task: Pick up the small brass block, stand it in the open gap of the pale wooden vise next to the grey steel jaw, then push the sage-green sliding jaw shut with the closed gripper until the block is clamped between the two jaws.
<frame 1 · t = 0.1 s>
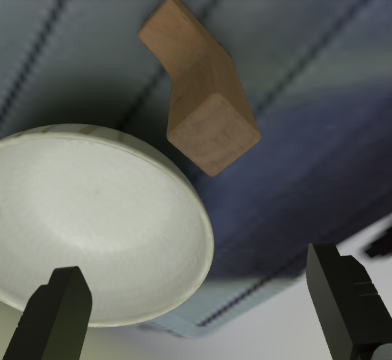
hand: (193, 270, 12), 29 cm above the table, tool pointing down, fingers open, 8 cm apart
wooden block: (188, 42, 36), on the table
decorative bowl: (106, 182, 46), on the table
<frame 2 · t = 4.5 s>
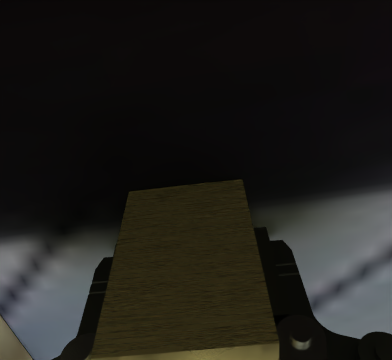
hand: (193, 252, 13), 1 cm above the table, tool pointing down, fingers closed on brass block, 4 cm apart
brass block: (193, 236, 14), on the table, touching gripper
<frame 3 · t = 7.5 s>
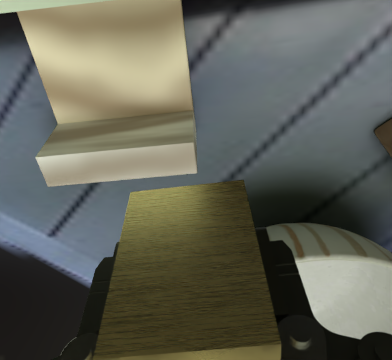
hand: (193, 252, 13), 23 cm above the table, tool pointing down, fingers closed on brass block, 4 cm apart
vise: (103, 11, 29), on the table
decorative bowl: (281, 255, 47), on the table
brass block: (195, 237, 14), point 22 cm above the table, touching gripper
when the fingers open (3 cm above the table, at t = 11.0 s): brass block stays where it is, resting on vise.
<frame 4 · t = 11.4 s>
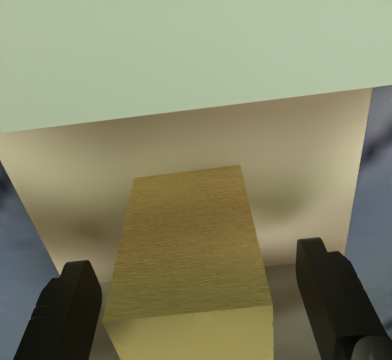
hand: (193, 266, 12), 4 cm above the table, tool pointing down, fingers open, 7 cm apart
vise: (171, 70, 12), on the table
brass block: (195, 221, 14), point 1 cm above the table, touching vise
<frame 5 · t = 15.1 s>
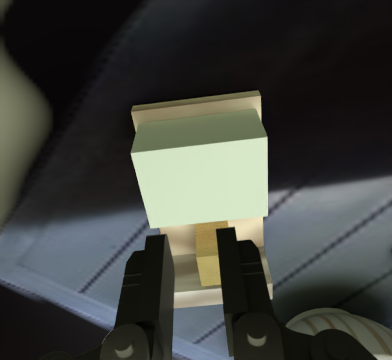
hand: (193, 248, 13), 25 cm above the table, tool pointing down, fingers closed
vise: (207, 191, 43), on the table
decorative bowl: (318, 327, 60), on the table
brass block: (213, 234, 45), point 1 cm above the table, touching vise
sliding jaw: (202, 169, 36), point 5 cm above the table, slide at 0.0 cm
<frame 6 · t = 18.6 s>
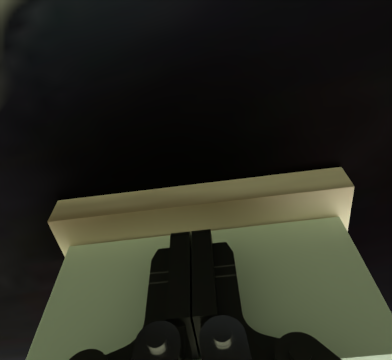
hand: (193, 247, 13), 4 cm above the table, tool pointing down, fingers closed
vise: (220, 333, 23), on the table
sliding jaw: (215, 352, 16), point 5 cm above the table, slide at 0.2 cm, touching gripper
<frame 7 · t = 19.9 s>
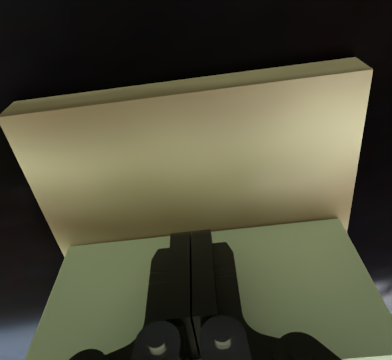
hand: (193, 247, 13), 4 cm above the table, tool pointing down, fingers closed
vise: (211, 285, 20), on the table
sliding jaw: (214, 353, 16), point 5 cm above the table, slide at 5.1 cm, touching brass block, gripper
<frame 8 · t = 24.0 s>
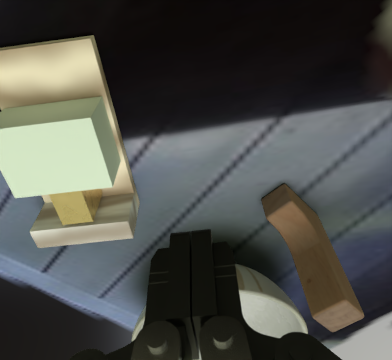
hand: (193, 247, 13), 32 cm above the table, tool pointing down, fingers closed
wooden block: (289, 206, 54), on the table
vise: (71, 137, 46), on the table
decorative bowl: (214, 281, 64), on the table
brass block: (83, 180, 48), point 1 cm above the table, touching sliding jaw, vise
sliding jaw: (58, 147, 42), point 5 cm above the table, slide at 5.2 cm, touching brass block
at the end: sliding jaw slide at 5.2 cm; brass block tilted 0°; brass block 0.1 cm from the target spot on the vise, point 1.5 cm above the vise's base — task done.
